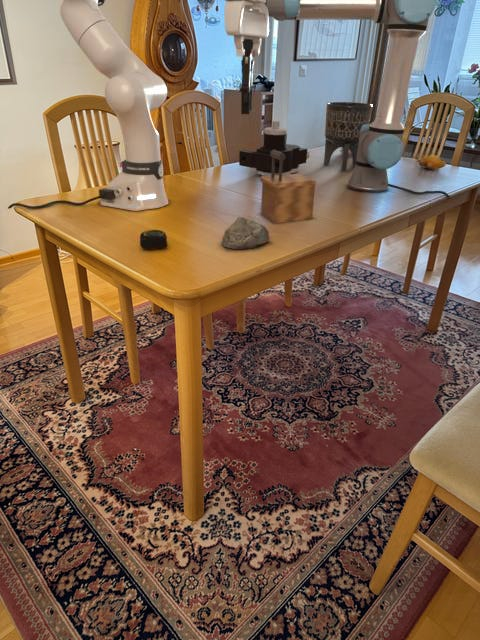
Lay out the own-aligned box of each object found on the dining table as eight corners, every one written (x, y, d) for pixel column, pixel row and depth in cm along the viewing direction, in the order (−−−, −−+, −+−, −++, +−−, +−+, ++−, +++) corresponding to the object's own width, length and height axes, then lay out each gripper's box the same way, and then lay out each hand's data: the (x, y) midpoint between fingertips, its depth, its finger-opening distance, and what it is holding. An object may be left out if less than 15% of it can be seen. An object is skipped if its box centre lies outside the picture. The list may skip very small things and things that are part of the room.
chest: (274, 223, 138) (276, 188, 132) (261, 214, 145) (262, 180, 140) (312, 218, 142) (315, 184, 137) (297, 210, 150) (299, 177, 144)
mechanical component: (240, 120, 182) (283, 115, 202) (239, 174, 192) (280, 164, 212) (283, 126, 170) (325, 120, 190) (280, 183, 180) (320, 171, 200)
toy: (420, 162, 205) (414, 155, 217) (422, 176, 207) (416, 168, 220) (446, 154, 201) (438, 147, 214) (448, 168, 204) (440, 161, 217)
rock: (255, 233, 128) (256, 211, 124) (276, 242, 122) (278, 219, 119) (217, 244, 120) (217, 220, 117) (239, 254, 115) (239, 230, 111)
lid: (274, 188, 132) (275, 155, 127) (260, 180, 139) (261, 149, 135) (315, 184, 137) (318, 152, 132) (299, 177, 144) (302, 146, 140)
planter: (313, 167, 208) (319, 103, 195) (331, 160, 222) (338, 101, 209) (353, 173, 199) (362, 107, 185) (369, 166, 213) (379, 104, 199)
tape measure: (140, 252, 115) (139, 238, 113) (141, 242, 120) (140, 229, 119) (167, 251, 116) (166, 237, 114) (167, 241, 121) (166, 228, 120)
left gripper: (254, -1, 126) (253, 56, 133) (219, -10, 110) (220, 56, 117) (275, -2, 124) (273, 57, 131) (243, -11, 108) (242, 56, 115)
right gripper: (239, 39, 155) (238, 108, 166) (233, 37, 133) (232, 115, 144) (261, 40, 154) (259, 108, 165) (258, 37, 133) (256, 116, 144)
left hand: (247, 56), depth 124 cm, fingers open, 8 cm apart
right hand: (246, 112), depth 155 cm, fingers open, 13 cm apart
